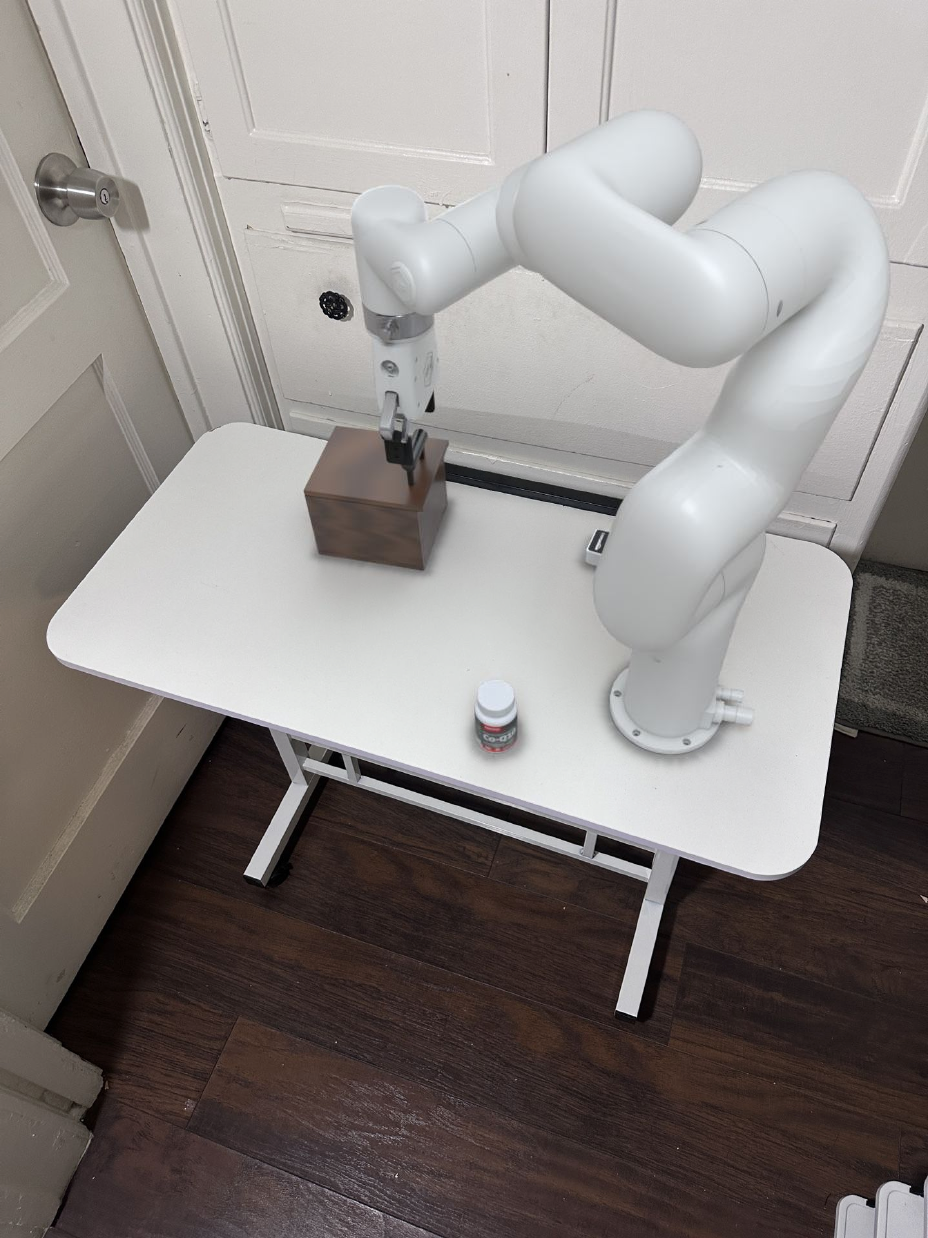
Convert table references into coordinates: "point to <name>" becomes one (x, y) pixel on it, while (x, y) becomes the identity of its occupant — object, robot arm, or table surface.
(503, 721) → the pill bottle
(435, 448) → the chest lid
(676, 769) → the table surface
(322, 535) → the chest
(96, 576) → the table surface
